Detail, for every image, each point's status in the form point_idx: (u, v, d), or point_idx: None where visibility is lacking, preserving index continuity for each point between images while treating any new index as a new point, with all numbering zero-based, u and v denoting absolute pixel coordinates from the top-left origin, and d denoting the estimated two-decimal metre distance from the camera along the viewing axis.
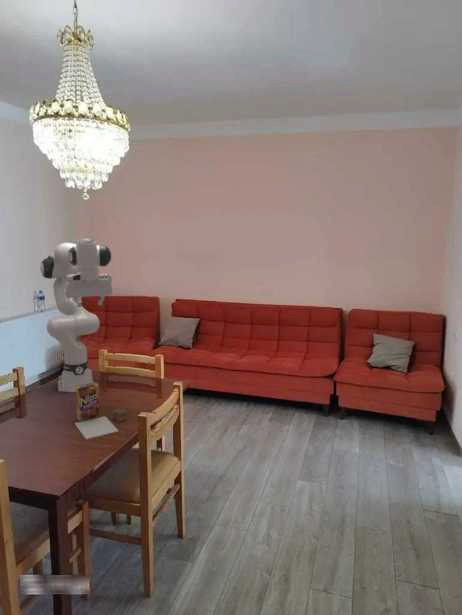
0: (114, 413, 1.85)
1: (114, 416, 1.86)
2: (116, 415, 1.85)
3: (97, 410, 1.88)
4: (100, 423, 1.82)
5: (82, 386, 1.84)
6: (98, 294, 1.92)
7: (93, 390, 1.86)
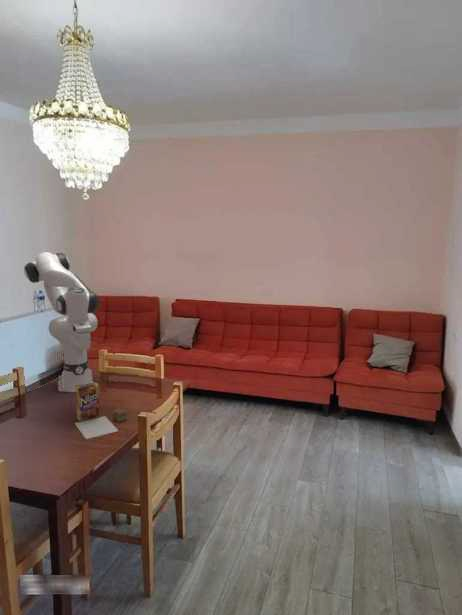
0: (114, 413, 1.85)
1: (114, 416, 1.86)
2: (116, 415, 1.85)
3: (97, 410, 1.88)
4: (100, 423, 1.82)
5: (82, 386, 1.84)
6: None
7: (93, 390, 1.86)
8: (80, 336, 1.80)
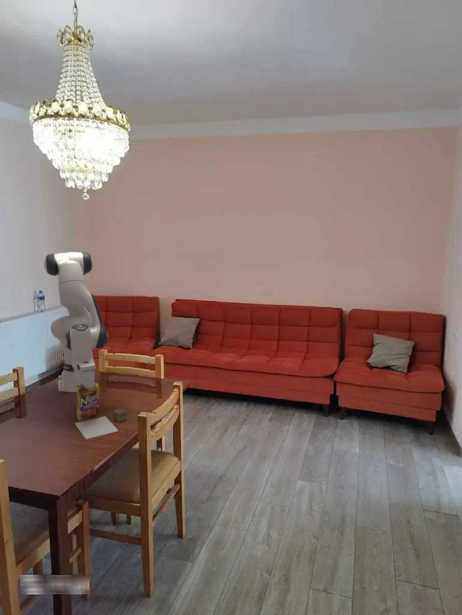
0: (114, 413, 1.85)
1: (114, 416, 1.86)
2: (116, 415, 1.85)
3: (97, 410, 1.88)
4: (100, 423, 1.82)
5: (83, 387, 1.83)
6: None
7: (94, 391, 1.85)
8: (84, 375, 1.79)
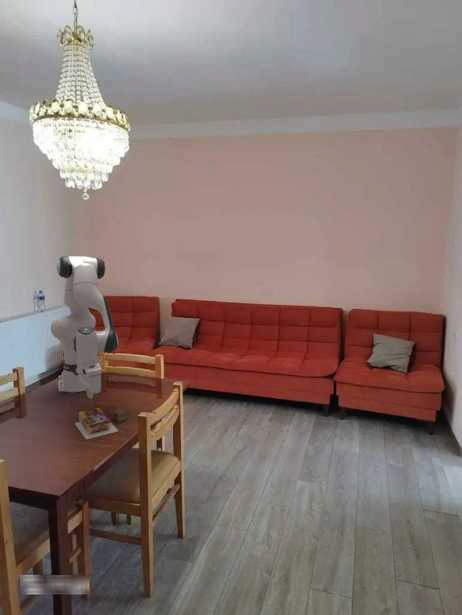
0: (114, 413, 1.85)
1: (114, 416, 1.86)
2: (116, 415, 1.85)
3: None
4: None
5: (94, 430, 1.73)
6: None
7: None
8: (90, 380, 1.73)
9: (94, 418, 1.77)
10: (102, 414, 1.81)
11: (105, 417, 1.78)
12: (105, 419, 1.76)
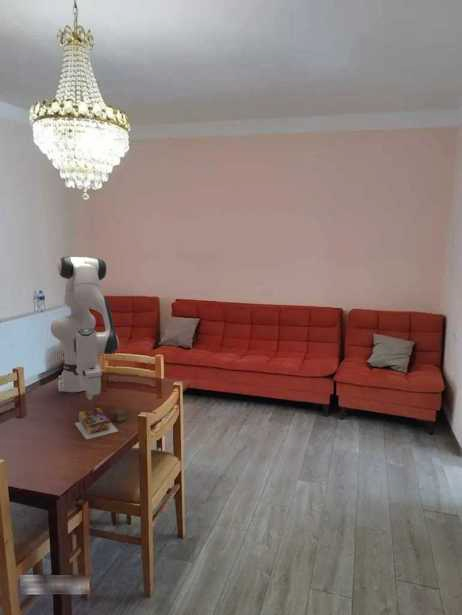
0: (114, 413, 1.85)
1: (114, 416, 1.86)
2: (116, 415, 1.85)
3: None
4: None
5: (94, 430, 1.73)
6: None
7: None
8: (90, 381, 1.73)
9: (94, 418, 1.77)
10: (102, 414, 1.81)
11: (105, 417, 1.78)
12: (105, 419, 1.76)
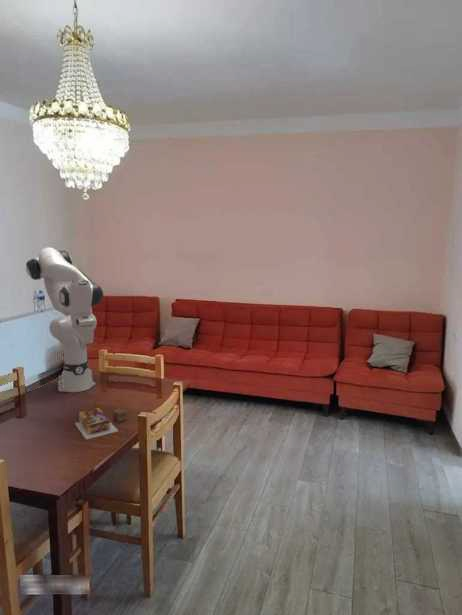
0: (114, 413, 1.85)
1: (114, 416, 1.86)
2: (116, 415, 1.85)
3: None
4: None
5: (94, 430, 1.73)
6: None
7: None
8: (83, 329, 1.75)
9: (94, 418, 1.77)
10: (102, 414, 1.81)
11: (105, 417, 1.78)
12: (105, 419, 1.76)
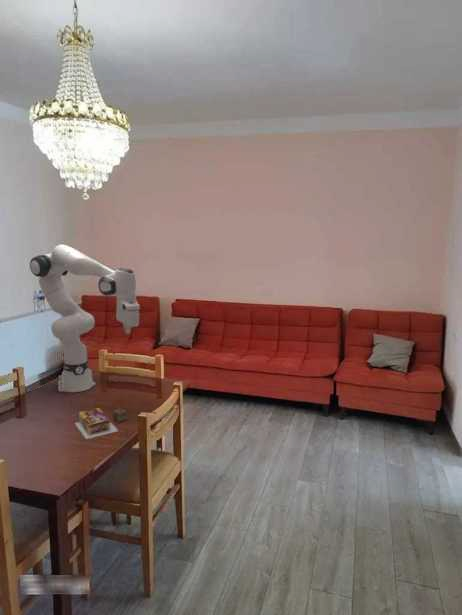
0: (114, 413, 1.85)
1: (114, 416, 1.86)
2: (116, 415, 1.85)
3: None
4: None
5: (94, 430, 1.73)
6: None
7: None
8: (130, 314, 1.90)
9: (94, 418, 1.77)
10: (102, 414, 1.81)
11: (105, 417, 1.78)
12: (105, 419, 1.76)
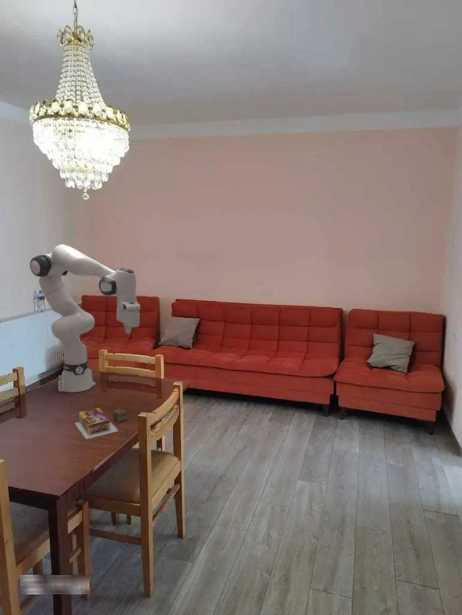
0: (114, 413, 1.85)
1: (114, 416, 1.86)
2: (116, 415, 1.85)
3: None
4: None
5: (94, 430, 1.73)
6: None
7: None
8: (130, 314, 1.90)
9: (94, 418, 1.77)
10: (102, 414, 1.81)
11: (105, 417, 1.78)
12: (105, 419, 1.76)
